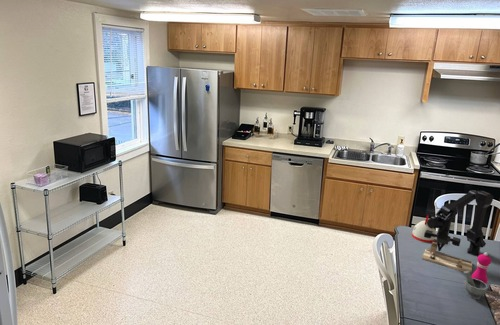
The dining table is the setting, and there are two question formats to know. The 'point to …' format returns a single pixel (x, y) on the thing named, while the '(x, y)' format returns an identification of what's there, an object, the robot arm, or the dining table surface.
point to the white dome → (422, 231)
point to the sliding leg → (433, 248)
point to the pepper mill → (482, 267)
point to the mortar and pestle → (474, 286)
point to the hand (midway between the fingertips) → (439, 250)
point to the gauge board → (448, 260)
